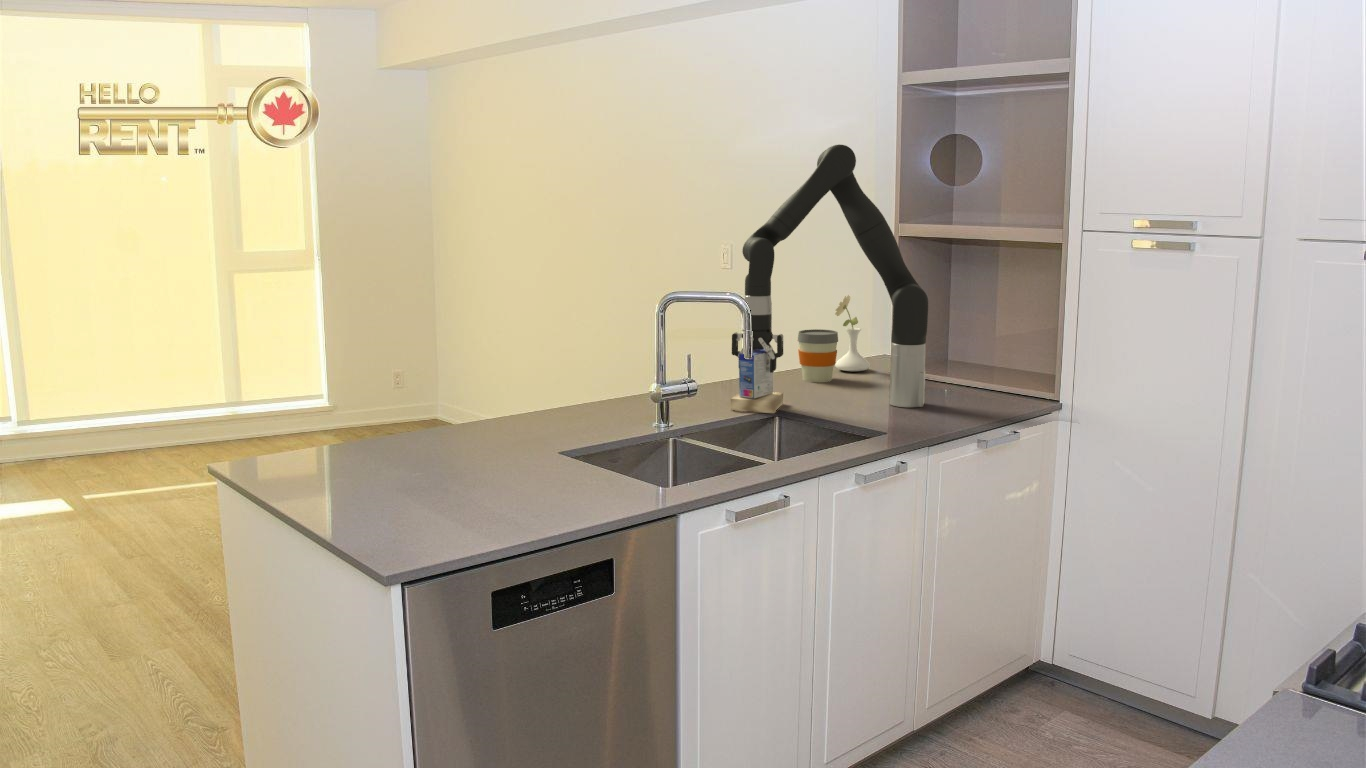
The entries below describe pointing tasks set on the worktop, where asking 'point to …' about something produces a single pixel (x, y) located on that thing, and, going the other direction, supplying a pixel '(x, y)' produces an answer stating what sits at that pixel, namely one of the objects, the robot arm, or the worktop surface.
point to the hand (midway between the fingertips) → (757, 371)
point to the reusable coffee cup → (817, 354)
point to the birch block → (758, 403)
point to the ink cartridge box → (755, 375)
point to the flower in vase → (851, 344)
